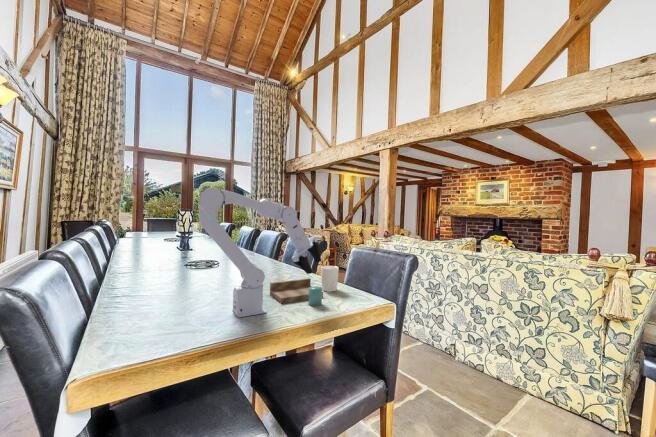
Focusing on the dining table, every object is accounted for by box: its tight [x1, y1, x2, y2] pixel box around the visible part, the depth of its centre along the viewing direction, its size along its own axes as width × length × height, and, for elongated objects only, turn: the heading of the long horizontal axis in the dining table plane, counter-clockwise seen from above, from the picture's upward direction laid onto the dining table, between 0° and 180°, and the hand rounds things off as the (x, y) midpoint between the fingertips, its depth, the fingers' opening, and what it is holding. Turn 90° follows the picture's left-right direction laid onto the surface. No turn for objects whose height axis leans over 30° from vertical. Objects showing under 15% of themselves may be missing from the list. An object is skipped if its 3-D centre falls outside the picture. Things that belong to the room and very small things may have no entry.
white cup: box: [320, 265, 340, 293], centre depth 125 cm, size 8×8×10 cm
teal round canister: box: [307, 286, 323, 307], centre depth 106 cm, size 5×5×6 cm
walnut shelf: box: [269, 277, 324, 304], centre depth 115 cm, size 18×12×5 cm, turn 122°
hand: (314, 267), depth 106 cm, fingers open, 7 cm apart
